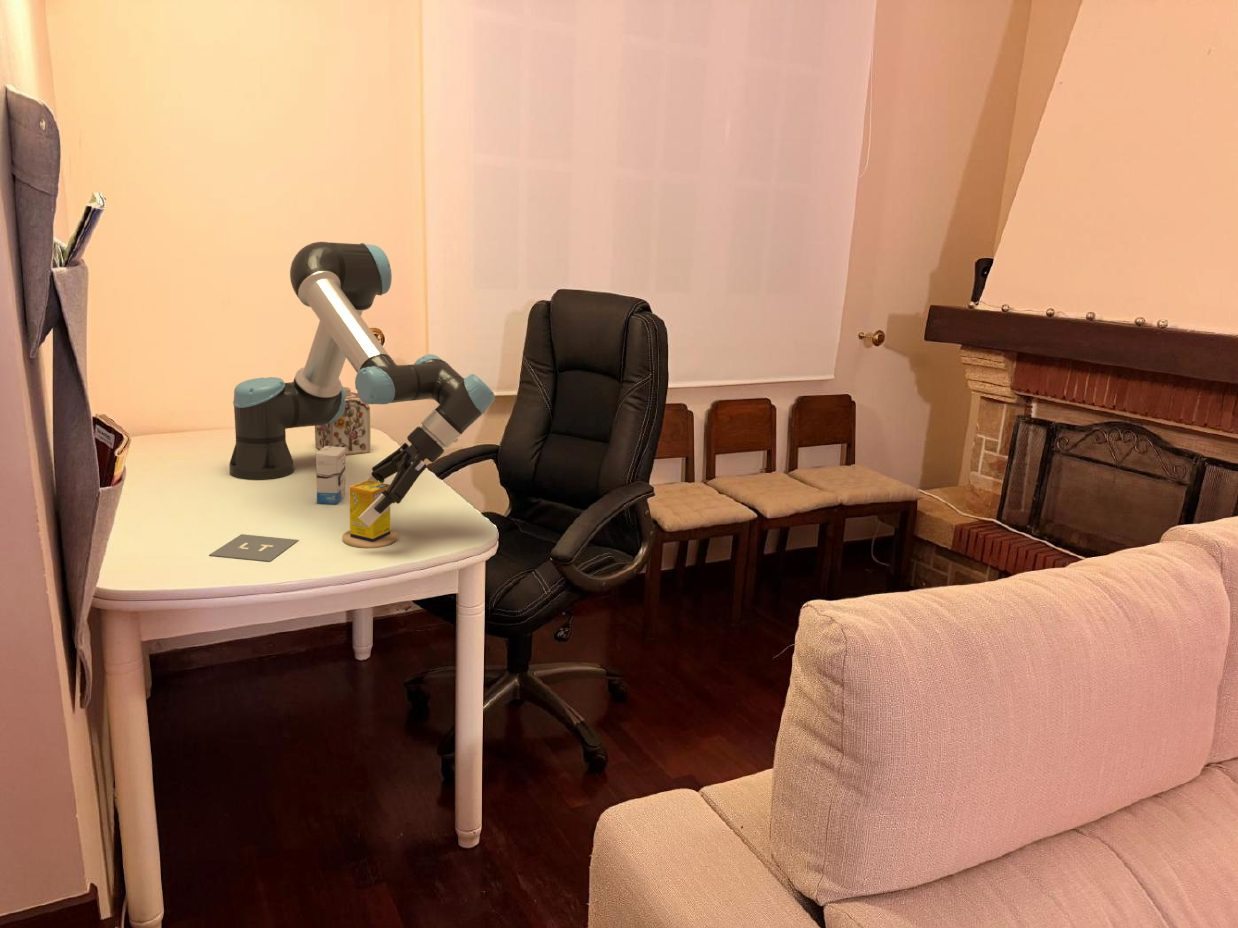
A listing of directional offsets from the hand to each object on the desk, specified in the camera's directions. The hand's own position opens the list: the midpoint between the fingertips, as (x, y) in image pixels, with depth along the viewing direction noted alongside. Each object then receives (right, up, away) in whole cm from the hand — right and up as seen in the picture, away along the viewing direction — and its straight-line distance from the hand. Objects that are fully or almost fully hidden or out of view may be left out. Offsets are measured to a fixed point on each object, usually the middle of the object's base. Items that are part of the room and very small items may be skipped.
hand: (358, 511), depth 176 cm
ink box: (-14, +1, +26) cm, 30 cm away
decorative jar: (-25, +13, +69) cm, 74 cm away
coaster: (+2, -6, +2) cm, 6 cm away
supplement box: (+2, -5, +2) cm, 6 cm away
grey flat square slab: (-18, -7, -7) cm, 21 cm away
